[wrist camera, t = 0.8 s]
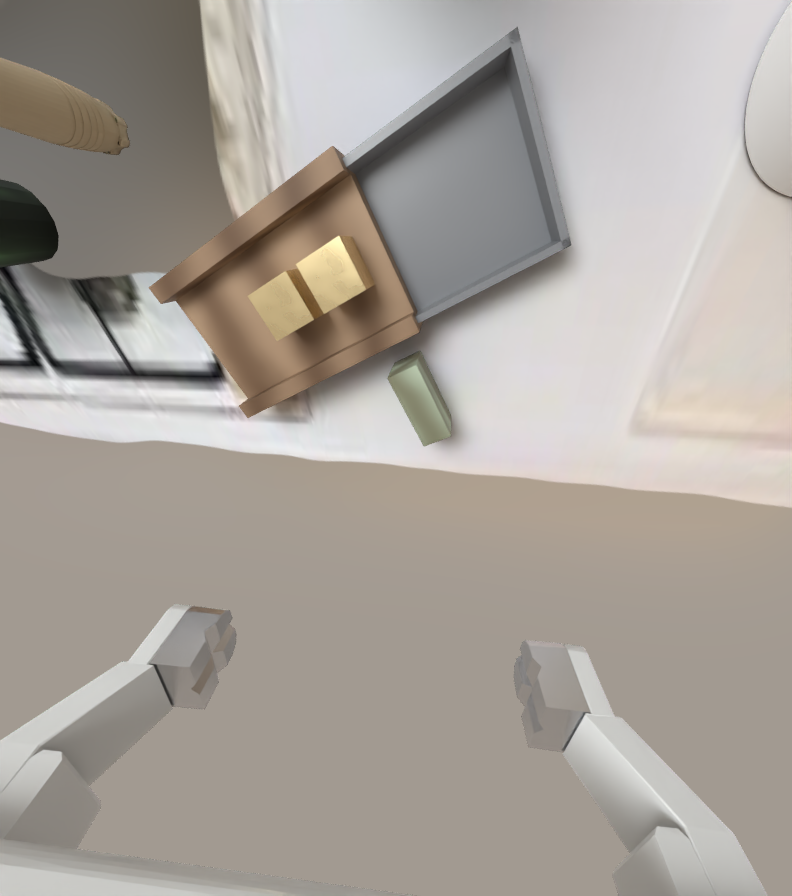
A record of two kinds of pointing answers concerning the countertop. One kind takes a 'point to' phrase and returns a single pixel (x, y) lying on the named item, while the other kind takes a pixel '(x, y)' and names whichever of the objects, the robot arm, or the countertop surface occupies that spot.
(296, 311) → the brass block
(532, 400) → the countertop surface
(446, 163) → the tray
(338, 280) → the brass block
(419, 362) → the bar
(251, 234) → the slot board
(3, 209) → the potion bottle
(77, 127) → the handle
